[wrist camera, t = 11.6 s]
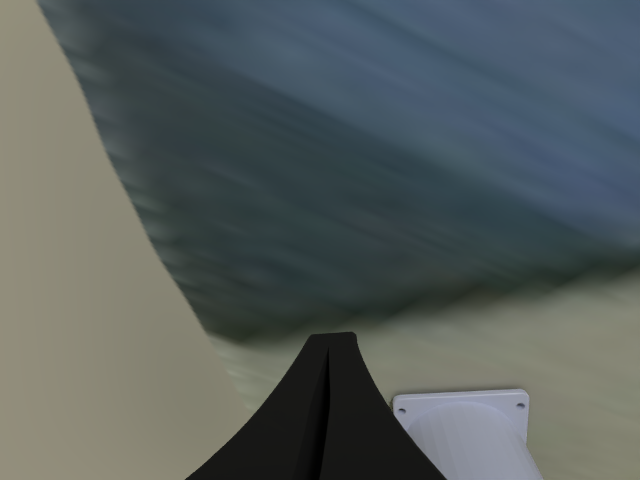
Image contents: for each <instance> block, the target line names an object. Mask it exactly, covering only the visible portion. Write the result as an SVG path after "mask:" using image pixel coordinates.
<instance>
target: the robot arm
mask: <svg viewBox="0 0 640 480" xmlns="http://www.w3.org/2000/svg"><path fill="white" fill-rule="evenodd" d="M392 402H393V412H392V411H391V409H390V408H389V406H388V405H387V403H386V402H385V400H384V398H383V397H382V395H381V393H380V392H379V390H378V388H377V387H376V385H375V383H374V381H373V379H372V377H371V375H370V373H369V371H368V369H367V367H366V365H365V363H364V361H363V358H362V356H361V353H360V350H359V347H358V344H357V336H356V334H355V333H353V332H341V333H327V334H312V335H311V336H310V337H309V338H308V340H307V341H306V343H305V345H304V346H303V348H302V350H301V351H300V353H299V354H298V356H297V358H296V359H295V361H294V362H293V364H292V365H291V367H290V368H289V370H288V371H287V372H286V374H285V375H284V377H283V378H282V380H281V381H280V382H279V384H278V385H277V386H276V388H275V389H274V390H273V392H272V393H271V394H270V395H269V397H268V398H267V399H266V400H265V402H264V403H263V404H262V406H261V407H260V408H259V409H258V410H257V411H256V413H255V414H254V415H253V416H252V417H251V418H250V419H249V421H248V422H247V423H246V424H245V425H244V426H243V427H242V428H241V429H240V430H239V431H238V432H237V433H236V434H235V435H234V436H233V437H232V438H231V439H230V440H229V441H228V442H227V443H226V444H225V445H224V446H223V447H222V448H221V449H220V450H219V451H217V452H216V453H215V454H214V455H213V456H212V457H211V458H210V459H209V460H208V461H207V462H205V463H204V464H203V465H202V466H201V467H200V468H198V469H197V470H196V471H195V472H194V473H192V474H191V475H190V476H189V477H187V478H186V479H185V480H544V479H543V477H542V475H541V473H540V471H539V470H538V468H537V466H536V464H535V462H534V460H533V458H532V456H531V454H530V452H529V451H528V449H527V447H526V440H527V426H528V412H529V396H528V394H527V392H526V391H525V390H523V389H507V390H487V391H467V392H447V393H427V394H407V395H397V396H395V397H394V398H393V401H392ZM519 403H521V404H519ZM517 404H519V405H517ZM401 408H402V409H403V410H399V409H401Z"/></svg>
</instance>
